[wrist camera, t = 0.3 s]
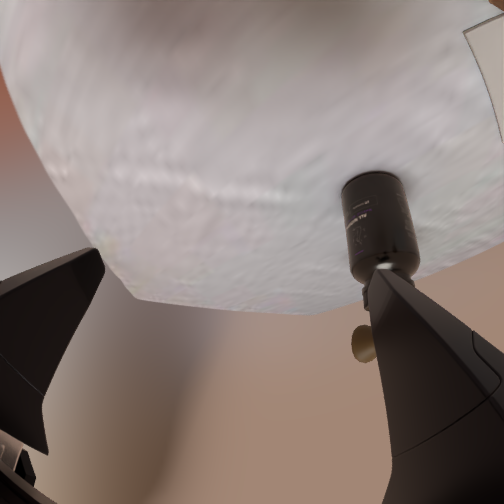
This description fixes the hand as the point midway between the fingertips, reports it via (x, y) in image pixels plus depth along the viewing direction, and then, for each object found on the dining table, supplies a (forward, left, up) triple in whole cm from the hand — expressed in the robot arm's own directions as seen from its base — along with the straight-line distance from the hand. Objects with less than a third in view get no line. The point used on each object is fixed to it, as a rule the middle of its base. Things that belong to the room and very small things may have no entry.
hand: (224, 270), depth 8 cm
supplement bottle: (+19, +1, -14) cm, 24 cm away
